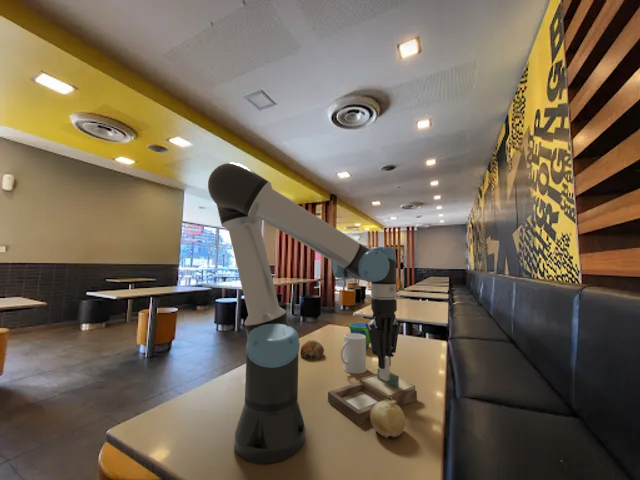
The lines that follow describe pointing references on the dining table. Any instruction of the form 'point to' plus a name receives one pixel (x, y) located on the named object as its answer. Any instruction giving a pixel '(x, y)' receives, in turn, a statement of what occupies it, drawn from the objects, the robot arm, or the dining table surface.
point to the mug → (354, 353)
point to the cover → (387, 384)
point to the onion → (387, 418)
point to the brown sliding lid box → (365, 400)
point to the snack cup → (360, 331)
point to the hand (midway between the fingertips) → (384, 378)
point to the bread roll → (312, 350)
